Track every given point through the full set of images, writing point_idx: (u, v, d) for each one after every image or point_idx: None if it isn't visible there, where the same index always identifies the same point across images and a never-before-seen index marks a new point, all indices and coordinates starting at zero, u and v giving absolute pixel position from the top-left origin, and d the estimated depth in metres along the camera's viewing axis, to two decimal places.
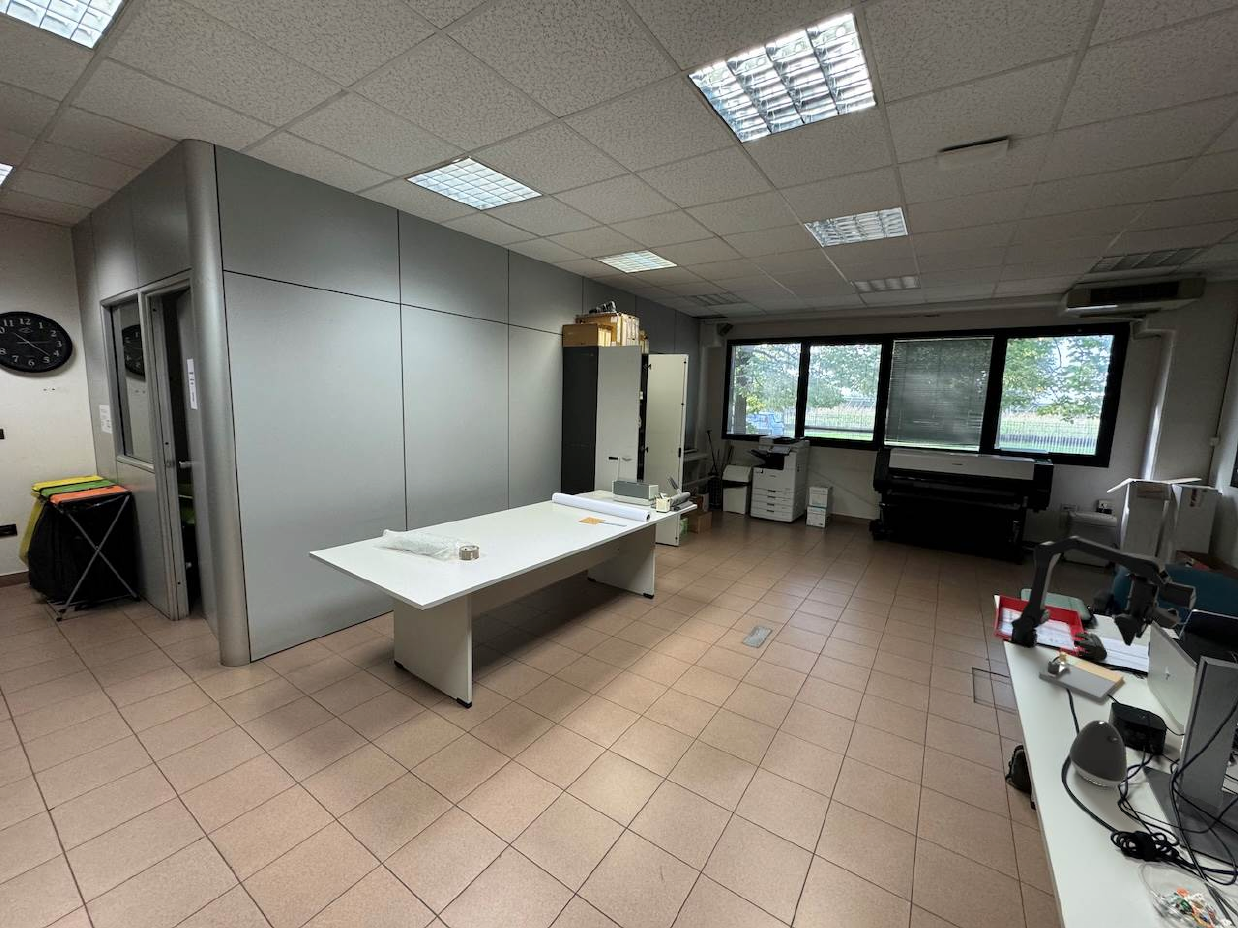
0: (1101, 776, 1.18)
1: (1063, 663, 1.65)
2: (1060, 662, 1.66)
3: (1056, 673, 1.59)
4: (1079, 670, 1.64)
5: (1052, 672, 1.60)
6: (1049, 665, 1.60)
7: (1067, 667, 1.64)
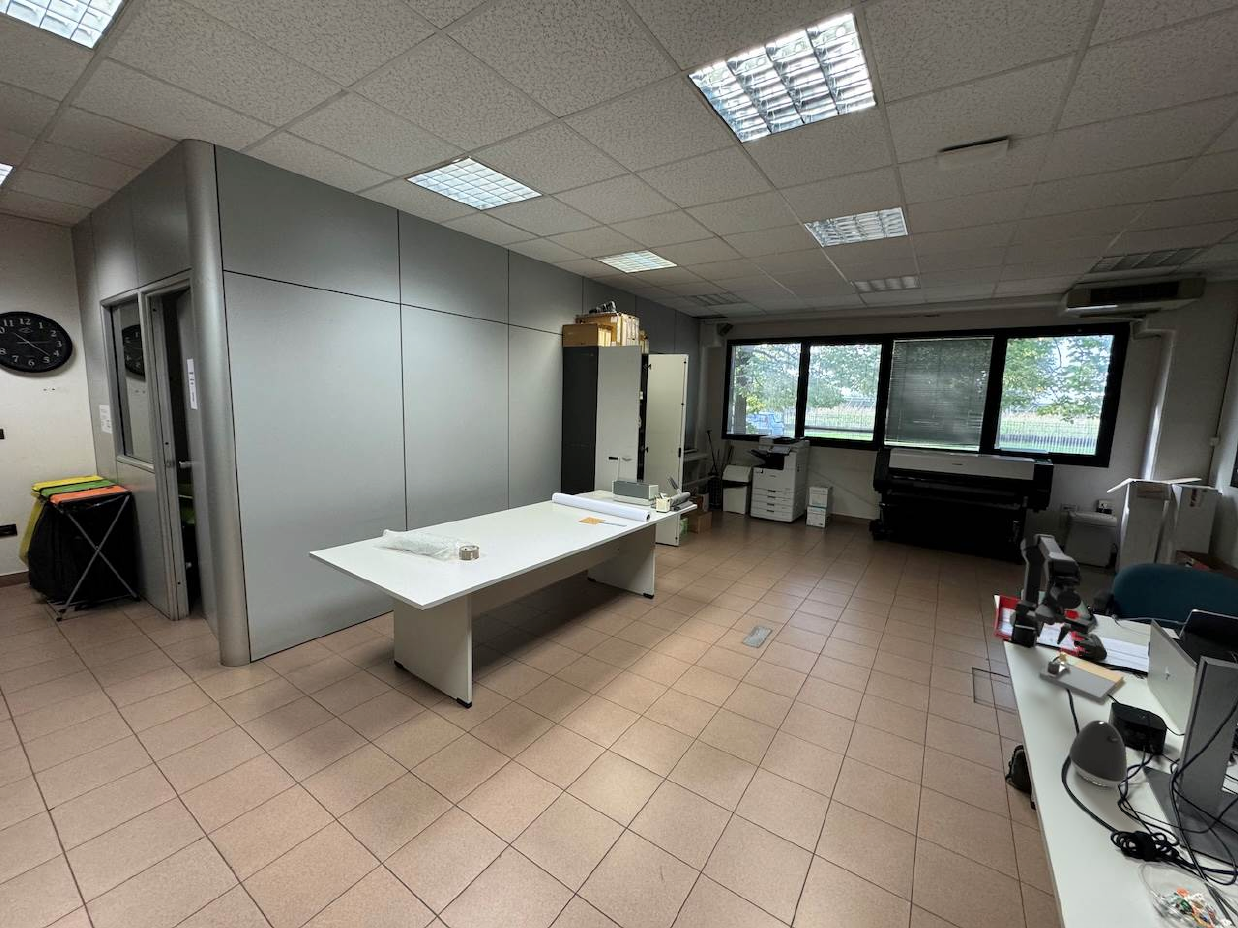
0: (1101, 776, 1.18)
1: (1063, 663, 1.65)
2: (1060, 662, 1.66)
3: (1056, 673, 1.59)
4: (1079, 670, 1.64)
5: (1052, 672, 1.60)
6: (1049, 665, 1.60)
7: (1067, 667, 1.64)
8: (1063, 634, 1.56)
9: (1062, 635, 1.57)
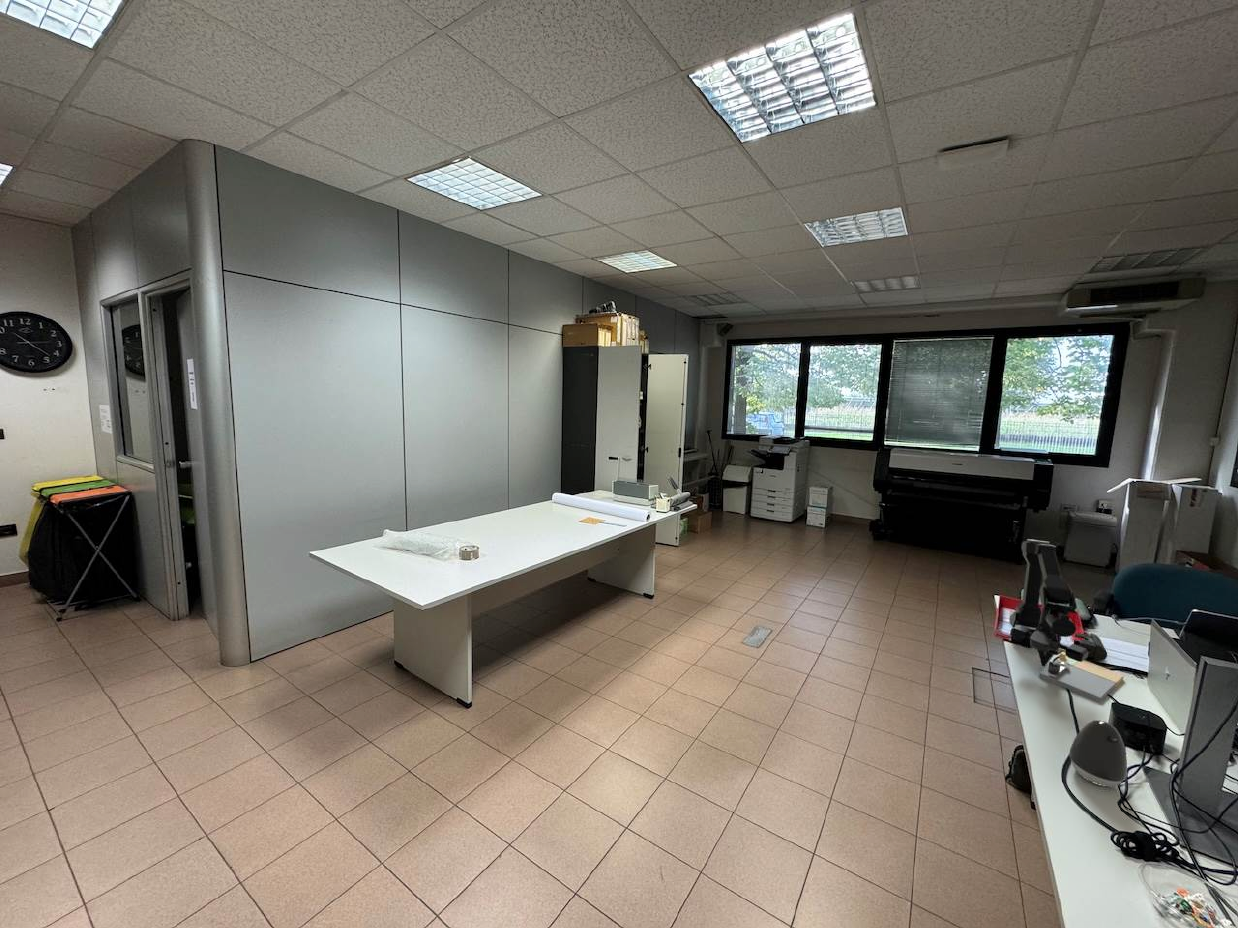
0: (1101, 776, 1.18)
1: (1063, 663, 1.65)
2: (1060, 662, 1.66)
3: (1057, 673, 1.59)
4: (1079, 670, 1.64)
5: (1053, 672, 1.60)
6: (1050, 665, 1.60)
7: (1067, 667, 1.64)
8: (1048, 656, 1.60)
9: (1047, 657, 1.60)
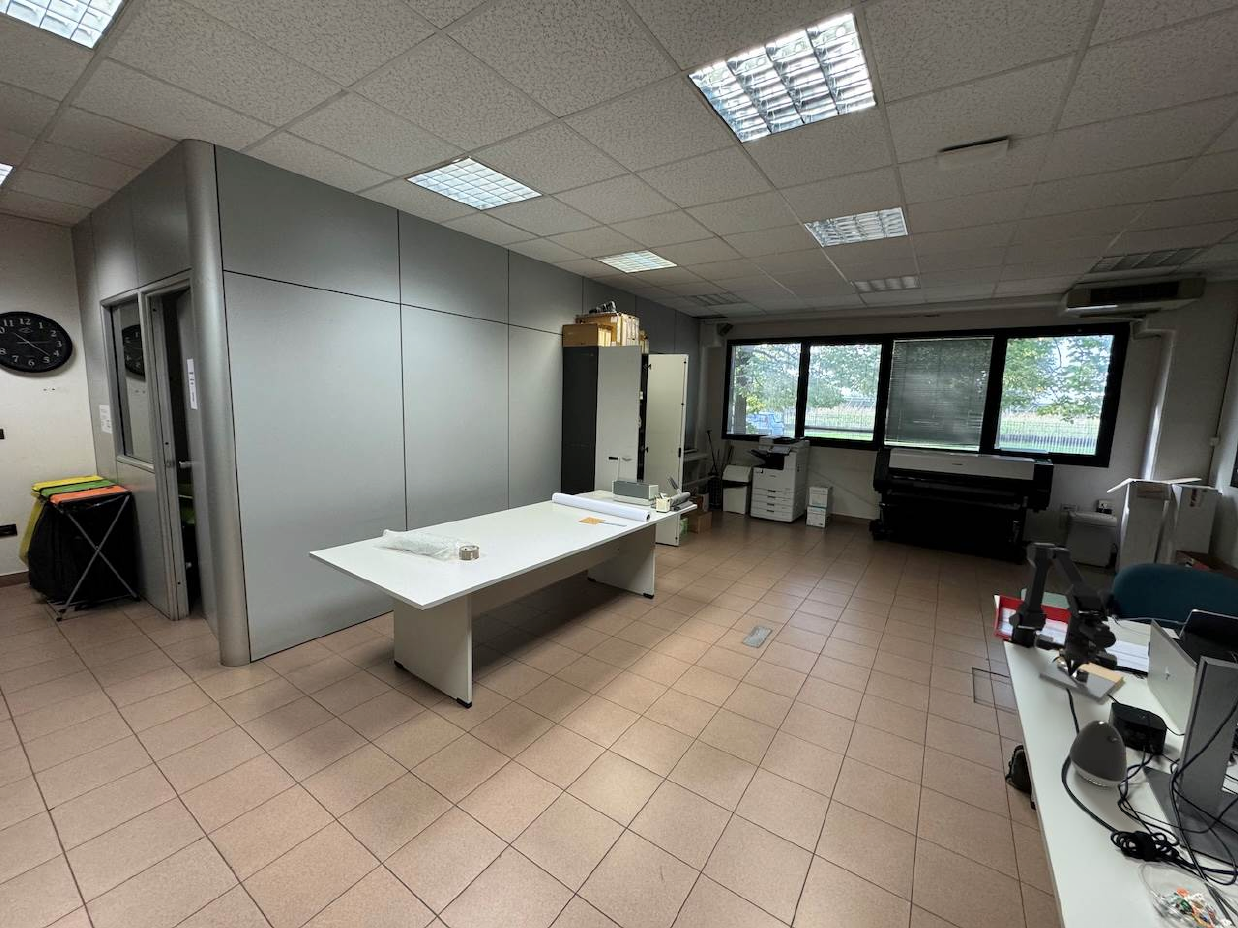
0: (1101, 776, 1.18)
1: (1064, 663, 1.65)
2: (1061, 663, 1.65)
3: (1087, 680, 1.56)
4: None
5: (1085, 681, 1.55)
6: (1081, 674, 1.55)
7: None
8: (1077, 666, 1.55)
9: (1076, 667, 1.56)
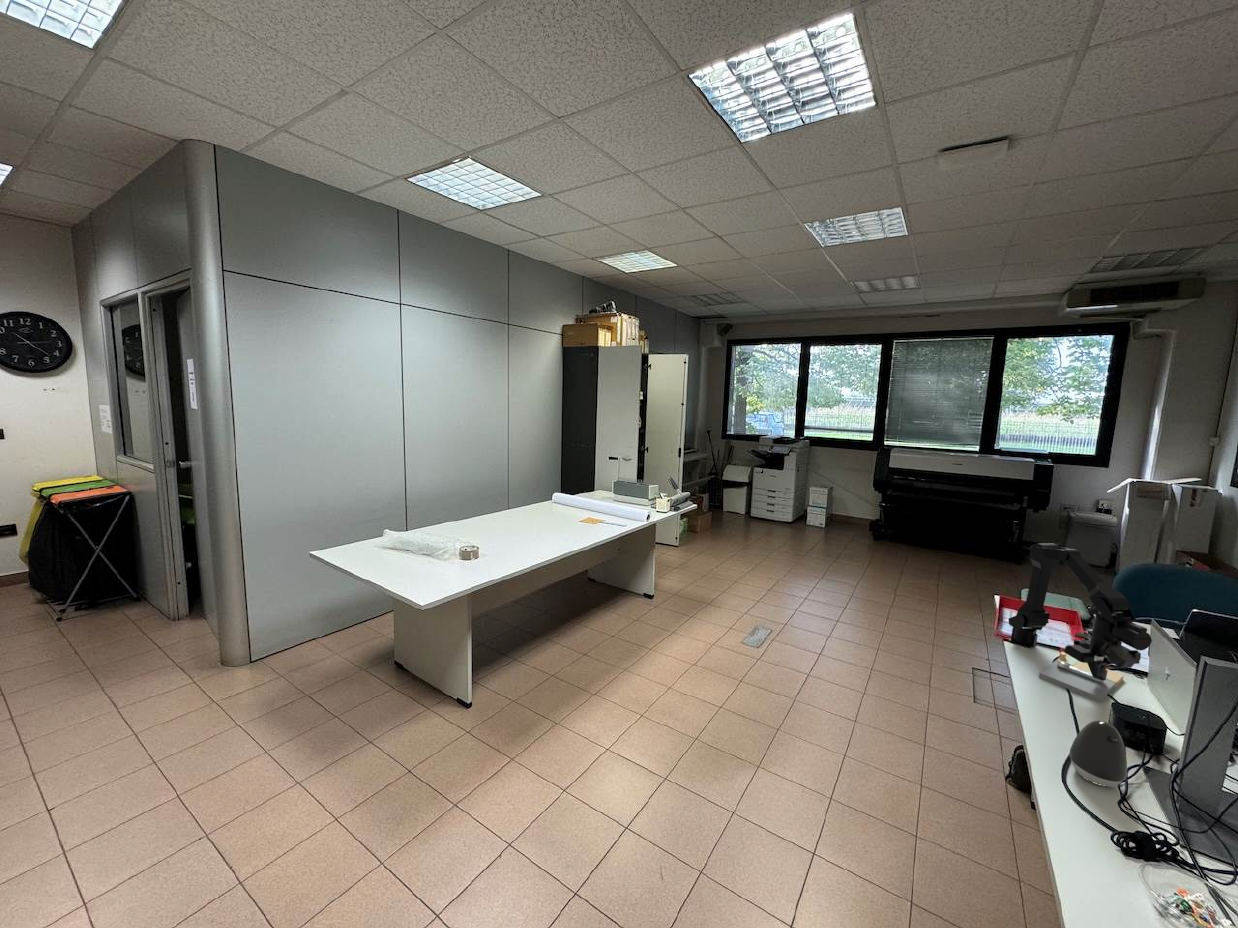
0: (1101, 776, 1.18)
1: (1064, 663, 1.65)
2: (1064, 664, 1.65)
3: None
4: None
5: None
6: (1104, 673, 1.56)
7: None
8: (1105, 667, 1.55)
9: (1104, 668, 1.55)
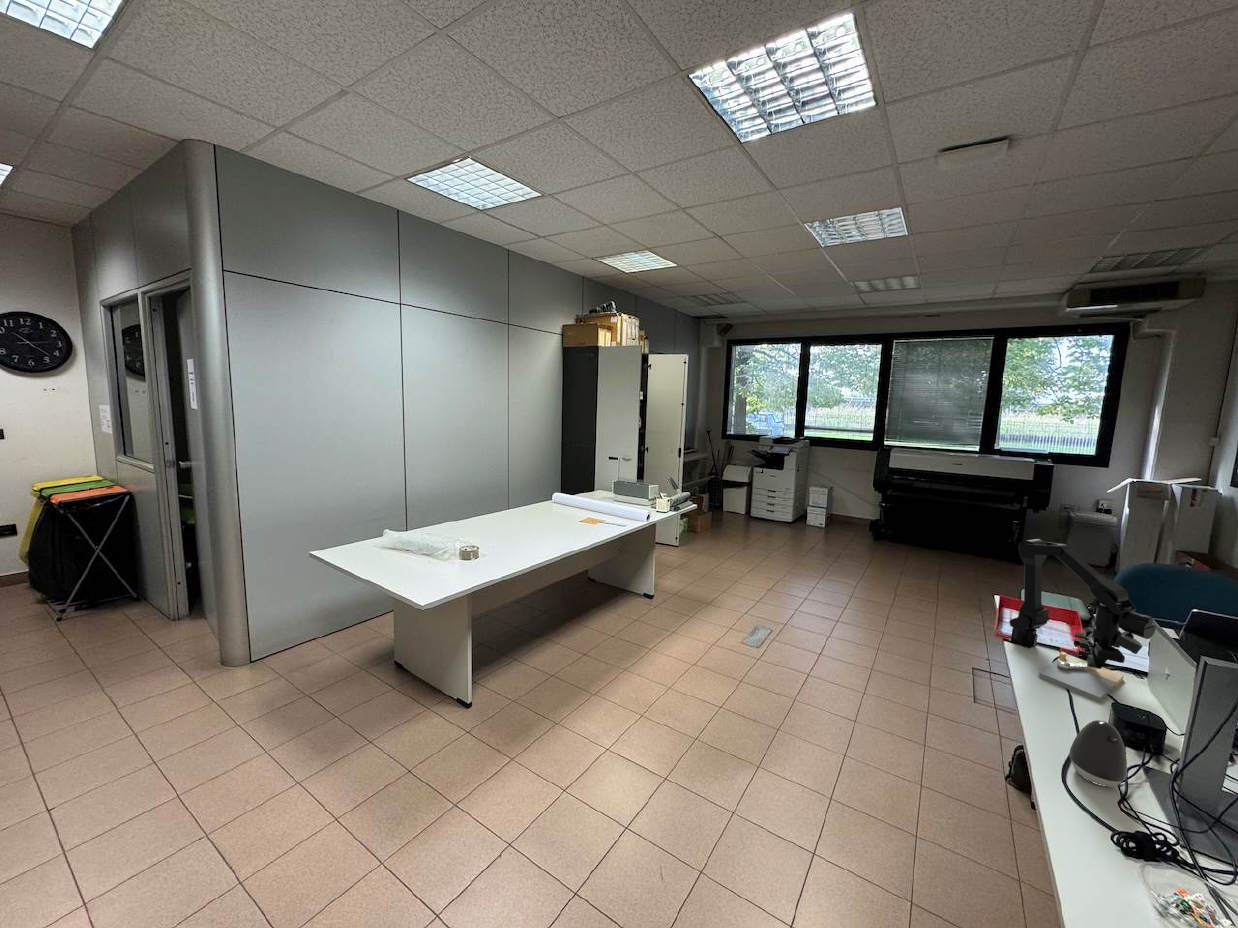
0: (1101, 776, 1.18)
1: (1064, 663, 1.65)
2: (1066, 664, 1.65)
3: None
4: (1079, 670, 1.64)
5: None
6: None
7: None
8: None
9: None
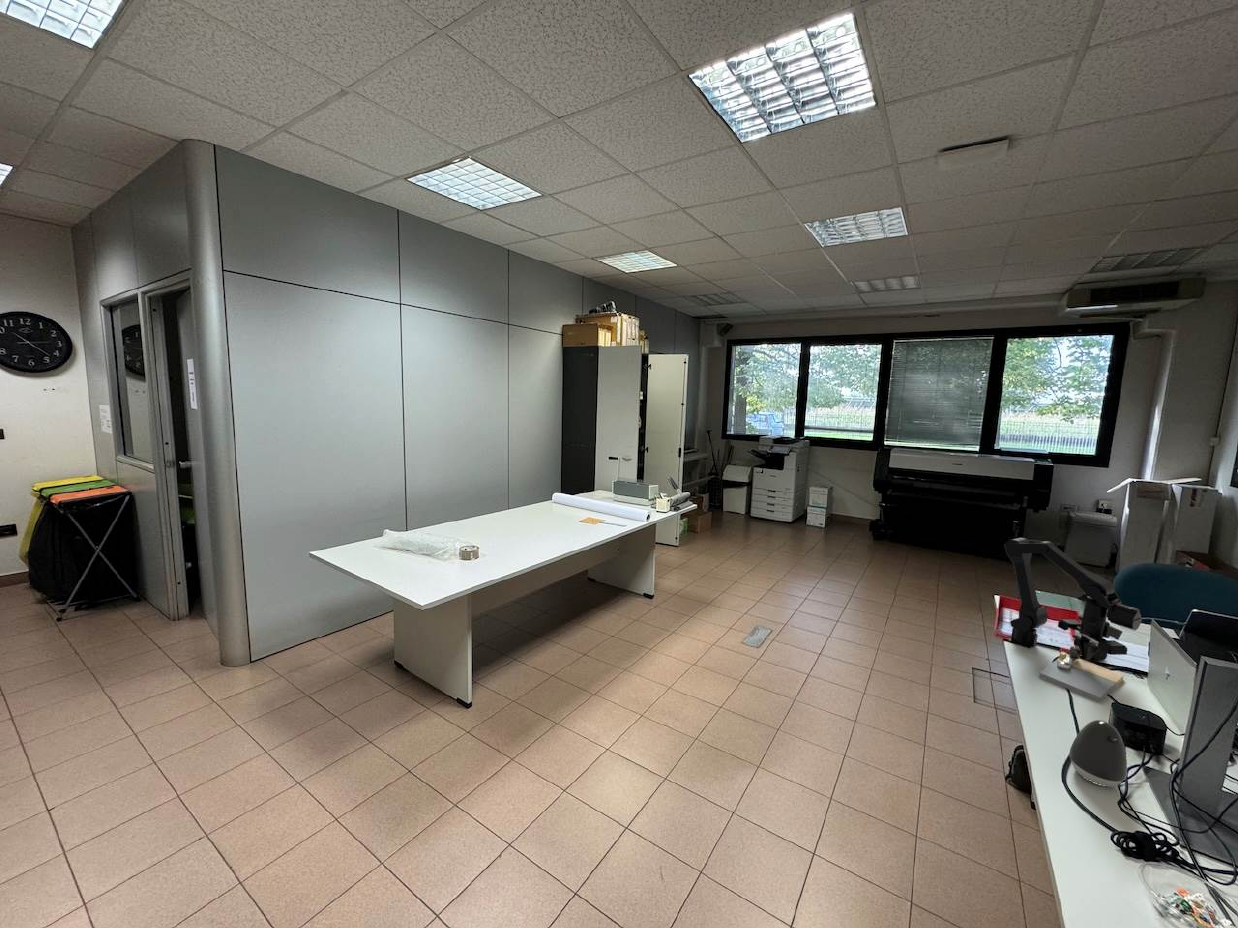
0: (1101, 776, 1.18)
1: (1063, 663, 1.65)
2: (1066, 664, 1.65)
3: None
4: (1079, 670, 1.64)
5: None
6: None
7: None
8: None
9: None
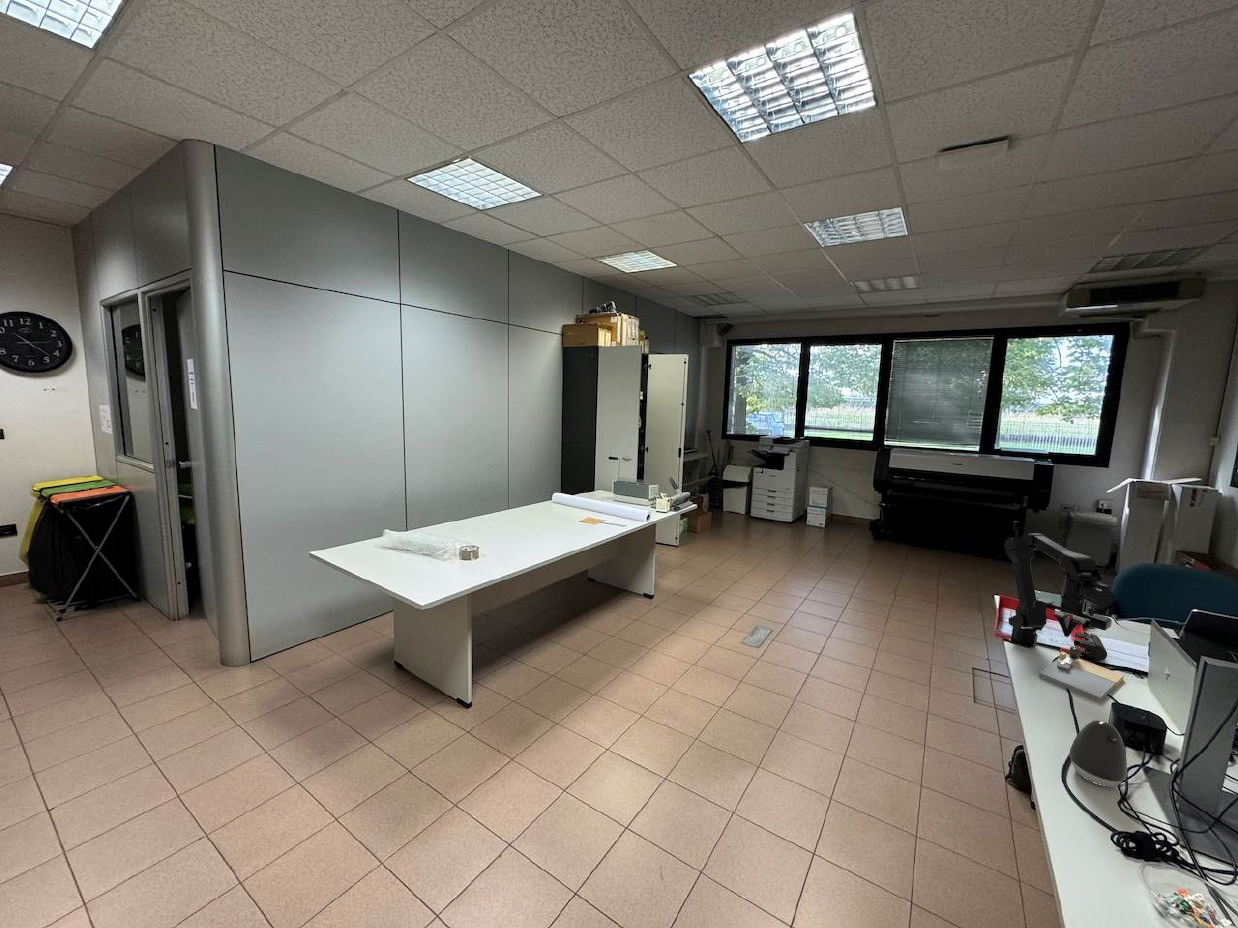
0: (1101, 776, 1.18)
1: (1063, 663, 1.65)
2: (1066, 664, 1.65)
3: None
4: (1079, 670, 1.64)
5: None
6: None
7: None
8: None
9: None
